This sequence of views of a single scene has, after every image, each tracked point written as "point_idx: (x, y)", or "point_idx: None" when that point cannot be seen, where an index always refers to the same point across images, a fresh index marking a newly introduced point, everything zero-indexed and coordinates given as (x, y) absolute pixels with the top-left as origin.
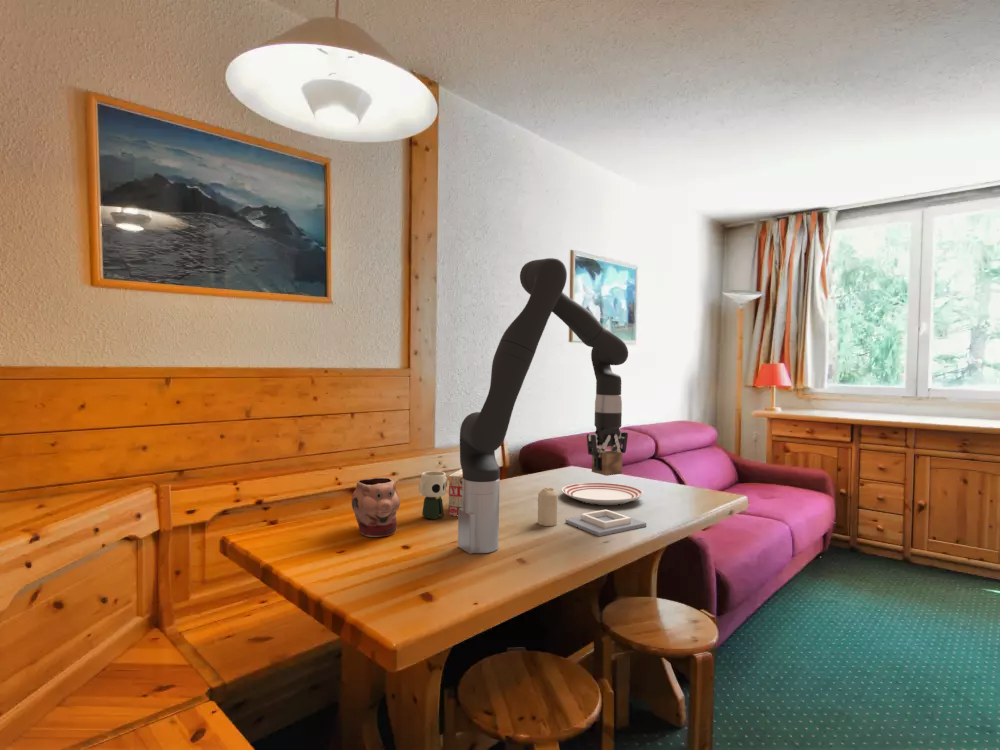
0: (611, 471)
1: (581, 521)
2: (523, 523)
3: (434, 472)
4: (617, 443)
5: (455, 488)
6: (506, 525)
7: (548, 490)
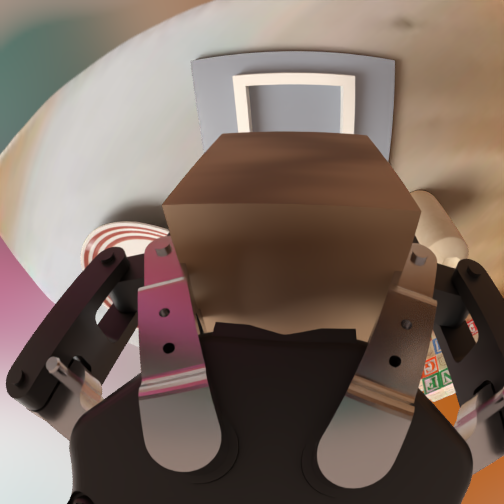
0: (323, 139)
1: None
2: None
3: None
4: (167, 328)
5: None
6: (476, 243)
7: None
